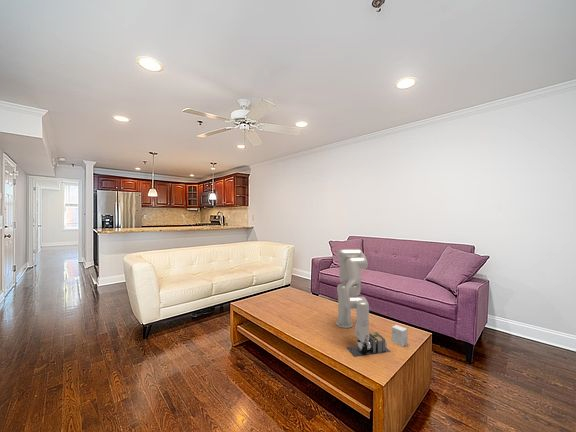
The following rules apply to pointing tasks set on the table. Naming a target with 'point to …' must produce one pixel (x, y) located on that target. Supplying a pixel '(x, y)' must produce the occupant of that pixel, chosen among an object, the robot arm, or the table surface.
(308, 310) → the table surface
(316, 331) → the table surface
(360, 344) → the tube
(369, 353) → the rail
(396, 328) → the small box
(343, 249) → the robot arm
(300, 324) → the table surface
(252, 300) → the table surface
